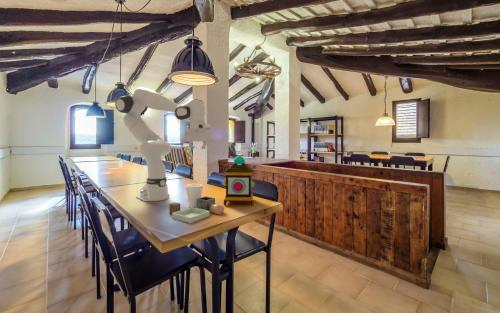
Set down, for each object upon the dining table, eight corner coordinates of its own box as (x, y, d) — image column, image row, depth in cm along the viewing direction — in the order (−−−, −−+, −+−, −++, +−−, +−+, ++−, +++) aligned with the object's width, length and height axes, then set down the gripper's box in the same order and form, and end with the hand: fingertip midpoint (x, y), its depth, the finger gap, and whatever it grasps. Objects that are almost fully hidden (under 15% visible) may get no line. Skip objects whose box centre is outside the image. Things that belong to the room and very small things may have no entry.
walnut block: (169, 215, 126) (169, 203, 126) (175, 213, 129) (175, 202, 129) (174, 216, 124) (174, 205, 123) (180, 214, 127) (180, 203, 127)
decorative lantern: (254, 207, 141) (255, 156, 139) (221, 206, 142) (221, 156, 140) (254, 198, 161) (255, 154, 159) (225, 198, 162) (225, 154, 160)
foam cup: (198, 209, 135) (198, 187, 134) (183, 208, 137) (183, 186, 136) (205, 205, 145) (204, 184, 144) (190, 204, 146) (190, 183, 146)
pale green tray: (171, 219, 119) (171, 213, 119) (191, 212, 130) (191, 207, 130) (190, 224, 112) (190, 218, 112) (209, 216, 123) (209, 211, 123)
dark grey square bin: (196, 211, 132) (196, 199, 132) (205, 208, 138) (205, 196, 138) (206, 213, 128) (206, 200, 128) (215, 210, 134) (215, 198, 134)
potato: (208, 208, 127) (213, 201, 130) (211, 215, 129) (216, 208, 133) (217, 210, 124) (222, 203, 127) (220, 217, 126) (225, 210, 129)
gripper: (181, 126, 147) (182, 148, 148) (206, 125, 136) (206, 149, 137) (189, 126, 152) (189, 148, 153) (213, 126, 141) (213, 149, 142)
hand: (197, 148), depth 145 cm, fingers open, 8 cm apart
